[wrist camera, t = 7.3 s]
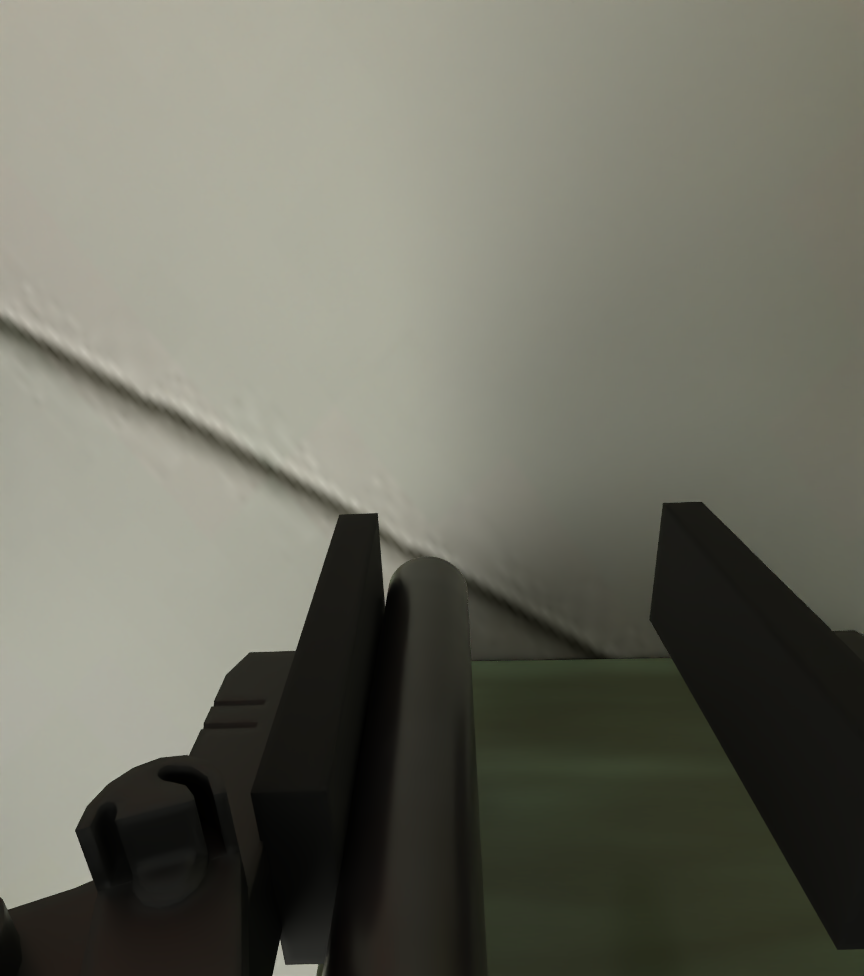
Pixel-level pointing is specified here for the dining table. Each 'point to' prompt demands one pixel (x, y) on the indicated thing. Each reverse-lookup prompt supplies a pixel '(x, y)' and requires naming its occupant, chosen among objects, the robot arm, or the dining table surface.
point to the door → (552, 820)
